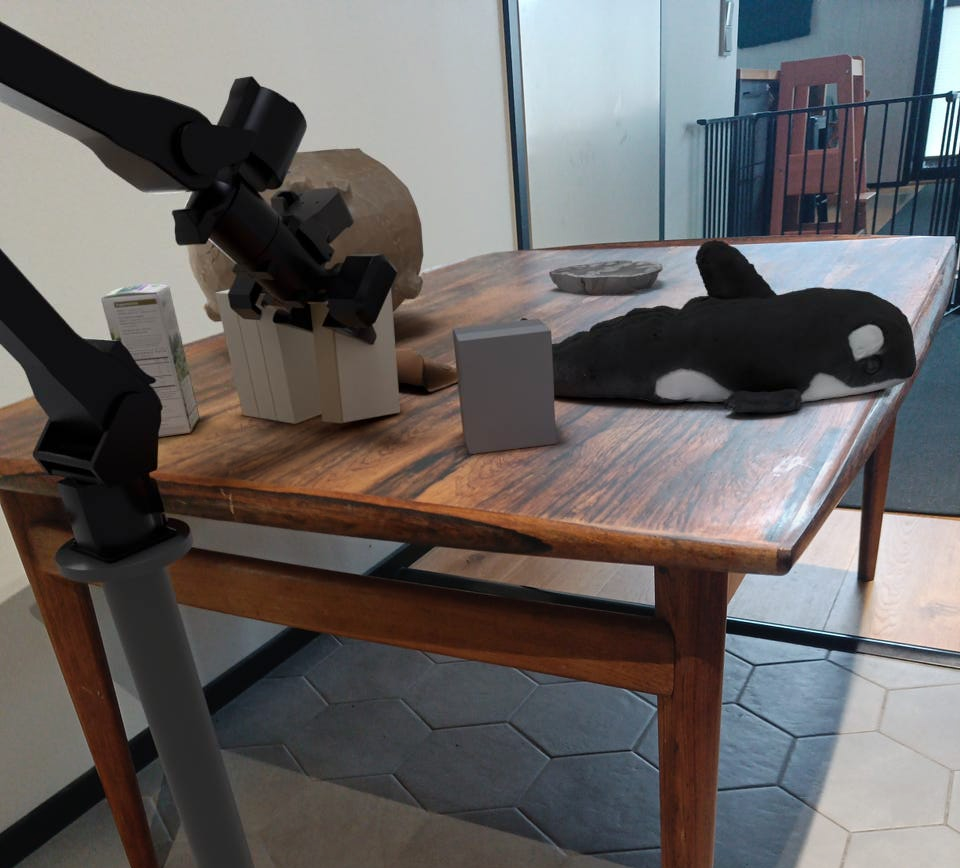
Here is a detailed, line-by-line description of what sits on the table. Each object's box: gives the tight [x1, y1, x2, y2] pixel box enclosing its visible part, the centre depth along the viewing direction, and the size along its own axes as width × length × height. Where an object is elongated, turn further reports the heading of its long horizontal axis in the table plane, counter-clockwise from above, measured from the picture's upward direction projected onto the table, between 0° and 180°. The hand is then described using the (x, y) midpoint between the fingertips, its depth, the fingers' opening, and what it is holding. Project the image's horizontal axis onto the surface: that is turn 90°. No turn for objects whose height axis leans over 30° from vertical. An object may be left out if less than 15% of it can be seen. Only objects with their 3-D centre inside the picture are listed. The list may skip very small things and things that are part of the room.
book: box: [310, 288, 401, 424], centre depth 90 cm, size 8×3×13 cm, turn 138°
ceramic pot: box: [186, 147, 424, 323], centre depth 129 cm, size 33×34×25 cm
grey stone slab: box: [548, 260, 664, 296], centre depth 151 cm, size 20×17×3 cm
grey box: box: [452, 318, 557, 455], centre depth 80 cm, size 8×6×10 cm
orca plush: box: [519, 239, 917, 414], centre depth 90 cm, size 21×41×14 cm, turn 61°
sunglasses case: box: [395, 347, 458, 393], centre depth 106 cm, size 18×7×7 cm, turn 51°
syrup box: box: [100, 283, 201, 438], centre depth 93 cm, size 6×6×14 cm
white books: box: [216, 290, 322, 425], centre depth 96 cm, size 8×9×13 cm
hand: (362, 339), depth 90 cm, fingers closed on book, 3 cm apart
